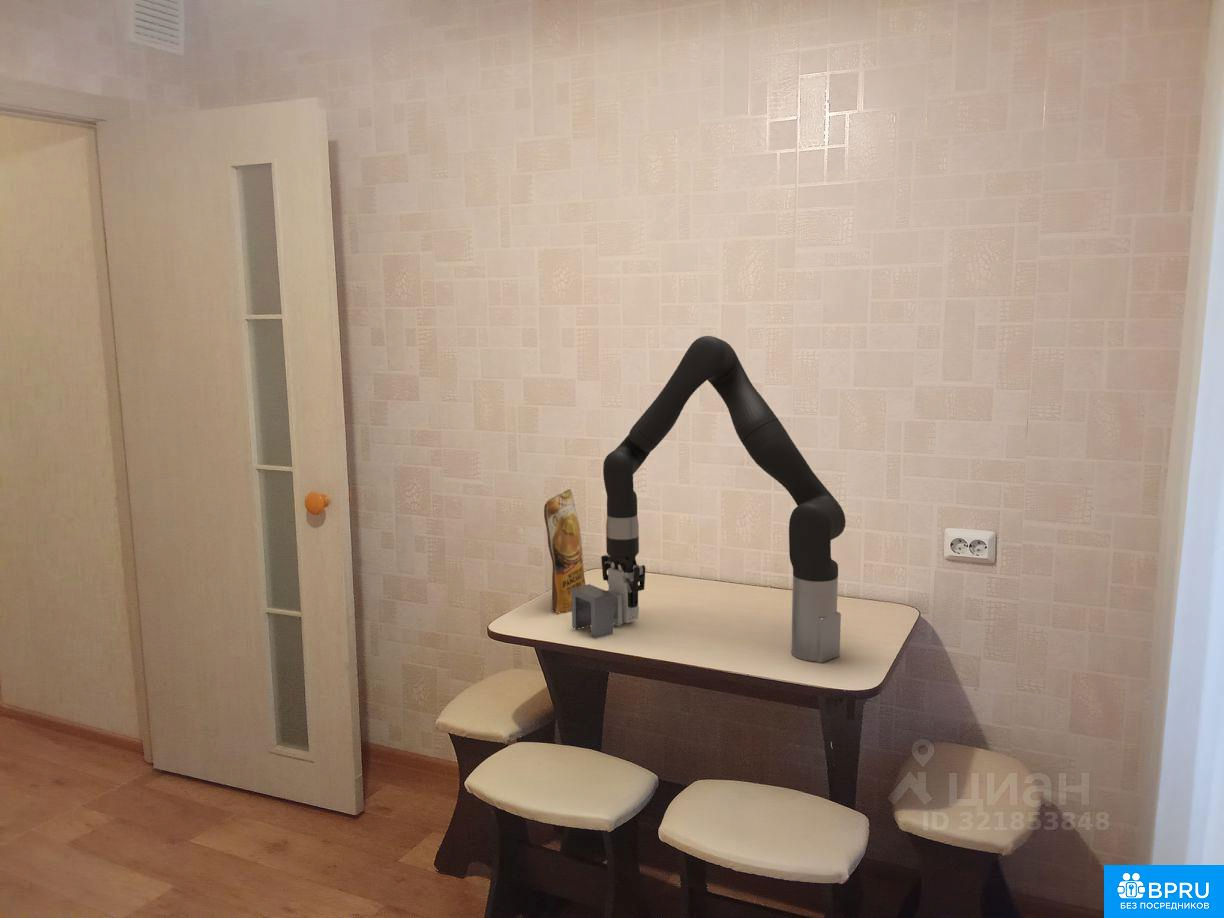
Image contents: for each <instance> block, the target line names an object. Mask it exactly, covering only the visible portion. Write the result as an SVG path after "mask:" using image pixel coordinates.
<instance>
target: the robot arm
mask: <svg viewBox="0 0 1224 918" xmlns="http://www.w3.org/2000/svg"><path fill="white" fill-rule="evenodd" d="M706 381H708V382H709V383H710V385H711V386H712V387H713V388H714V389H715V391H716V392H717V394H718V395H719V396H720V398H721V399H722V401H723V402H724V404H725V405H726V408H727V410H728V412H729V415H730V419H731V422H732V424H733V428H734V430H735V433H736V435H737V437H738V439H739V441H740V442H741V444H742V446H744V449H745V450H746V452H747V453H748V455H749V456H750V458H751V459H752V460H753V461H754V463H755V464H756V465H757V466H758V467H759V468H761V469H762V470H763V471H764V472H765V473H766V474H768V475H769V476H770V477H771V478H773V479H774V480H775V481H777V482H778V484H780V485H782V487H784V489H785V490H786V491H787V492H788V493H789V494H790V496H791V497H792V499H793V501H794V502H795V504H796V505H797V506H795V508H794V509H793V510H792V512H791V514H790V518H789V522H788V523H789V524H788V546H789V547H788V548H789V549H788V550H789V551H788V552H789V560H790V564H791V567H792V590H791V591H792V596H791V597H792V598H791V599H792V601H791V648H790V649H791V655H793V656H795V657H796V658H798V659H800V660H804V661H811V662H818V663H821V664H822V663H824V662H827V661H830V660H832V659H836V658H837V657H840V655H841V652H840V651H841V625H842V623H841V621H842V619H841V618H842V617H841V616H842V614H841V613H840V612H839V611H838V590H839V589H838V585H839V564H838V563H837V562H836V561H835V560H834V559H832V552H831V551H832V548H831V547H832V546H831V543H832V540H834V539H836V538H838V537H839V536H841V535H842V533H843V532H844V530H845V528H846V521H847V520H846V516H845V512H844V510H843V508H842V506H841V505H840V503H839V502H838V501H837V500H836V498H835V497H834V496H833V494H832V493H831V492H830V491H829V490H828V489H827V487H826V486H825V484H823V483H822V481H821V480H820V479H819V478H818V476H817V475H816V474H815V473H814V471H813V470H812V468H811V467H810V465H809V464H808V462H807V460H806V459H805V458H804V456H803V454H802V452H800V450H799V448H798V447H797V446H796V444H795V442H794V441H793V440H792V438H791V437H790V435H789V433H788V432H787V430H786V428H785V427H784V425H783V424H782V422H781V421H780V420H779V417H777V415H776V414H775V413H774V411H773V410H772V409H771V407H770V406H769V404H768V403H767V401H765V399H764V398H763V396H762V395H761V394H760V392H759V391H758V390H757V389H756V387H754V385H753V383H752V382H751V380H750V378H749V377H748V374H747V373H746V371H745V369H744V367H743V365H742V362H741V361H740V359H739V357H738V355H737V353H736V352H735V349H734V348H733V347H732V345H731V344H729V343H728V342H727V341H725V340H723V339H720V338H718V337H716V336H713V335H703V336H699V337H698V338H695V340H694V341H693V342H692V343H691V344H690V345H689V347H688V349H687V350H686V352H685V353H684V354H683V356H682V358H681V361H680V362H679V364H678V366H677V367H676V369H675V370H674V371H673V373H672V375H671V377H670V378H669V379H668V382H666V384H665V385H664V387H663V389H661V391H660V393H659V394H658V395H657V396H656V398H655V399H654V400H653V401H652V403H651V404H650V405H649V406H648V408H646V410H645V411H644V413H643V414H642V415H641V416H640V417H639V418H638V420H637V421H636V422H635V423H634V425H632V427H631V429H630V430H629V433H628V435H627V436H626V437H625V438H624V439H623V440H622V442H621V443H620V444H619V445H618V446H616V448H615V449H614V450H613V451H611V452H609V453H608V454H607V456H605V458H604V460H603V468H602V469H603V470H602V471H603V472H602V474H603V481H604V488H605V493H606V523H605V536H606V537H605V538H606V540H605V542H606V554H603V555H602V556H601V557H600V559H601V569H602V570H601V571H602V580H603V581H606V582H607V584H608V569H609V568H612V569H618V570H619V571H620V572H622V574H623V582H624V583H627V585H628V591H629V592H628V607H630V608H634V607H637V605H639V592H641V591H644V590H645V585H646V584H645V583H646V566H645V565H644V564H641V565H639V564H637V563H638V562H637V559H636V556H637V555H638V554H639V553H640V541H639V540H640V538H639V537H640V534H639V531H640V530H639V529H640V528H639V527H640V525H639V519H638V518H639V517H638V496H637V493H636V491H635V490H634V474H635V473H636V472H637V471H638V470H639V468H640V467H641V466H642V464H644V462H645V461H646V459H647V458H648V456H649V455H650V453H651V452H652V451H653V450H654V449H656V448H657V446H658V445H659V444H660V443H661V442H662V440H664V439H665V437H666V436H667V435H668V433H670V431H671V430H672V428H674V426H675V424H676V422H678V419H679V417H680V415H681V412H682V411H683V409H684V407H685V405H686V404H687V402H688V400H689V399H690V398H691V396H692V395H693V394H694V393H695V392H696V391H697V390H698V389H699V388H700V387H701V386H702V385H703V384H704V383H705V382H706ZM625 573H629V574H630V573H632V574H634V576H633V578H630V579H628V578H626V576H625ZM631 582H633V587H632V586H631Z"/></svg>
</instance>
